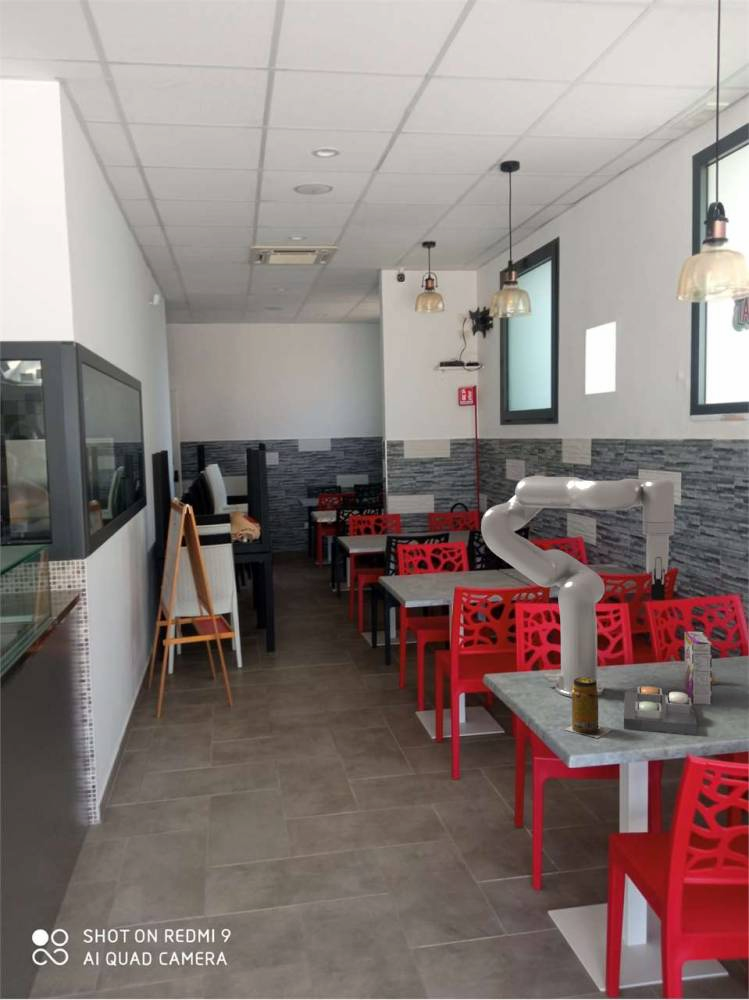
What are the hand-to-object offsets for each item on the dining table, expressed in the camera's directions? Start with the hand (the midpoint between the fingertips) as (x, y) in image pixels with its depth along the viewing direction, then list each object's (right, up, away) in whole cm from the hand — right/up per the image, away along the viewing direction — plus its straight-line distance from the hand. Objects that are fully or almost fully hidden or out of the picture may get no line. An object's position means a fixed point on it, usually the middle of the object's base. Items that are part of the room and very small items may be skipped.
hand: (657, 599), depth 200 cm
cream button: (+1, -24, -10) cm, 26 cm away
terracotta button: (-3, -24, -2) cm, 25 cm away
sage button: (-7, -26, -13) cm, 30 cm away
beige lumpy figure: (+18, -26, +17) cm, 36 cm away
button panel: (-3, -28, -8) cm, 29 cm away
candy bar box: (+12, -27, +5) cm, 30 cm away
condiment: (-22, -29, -15) cm, 40 cm away
